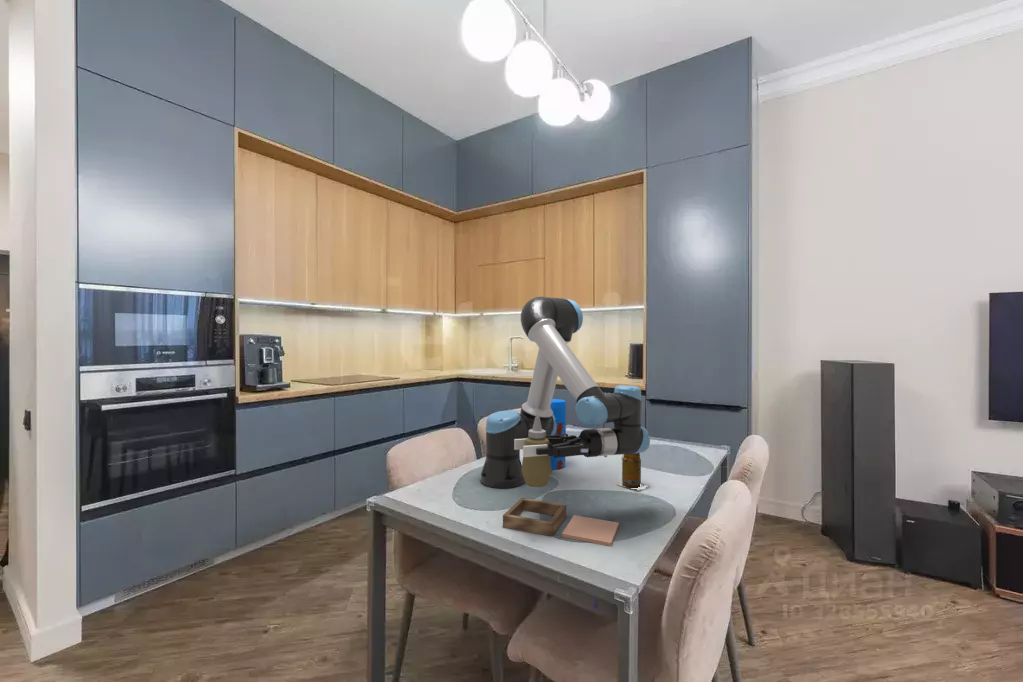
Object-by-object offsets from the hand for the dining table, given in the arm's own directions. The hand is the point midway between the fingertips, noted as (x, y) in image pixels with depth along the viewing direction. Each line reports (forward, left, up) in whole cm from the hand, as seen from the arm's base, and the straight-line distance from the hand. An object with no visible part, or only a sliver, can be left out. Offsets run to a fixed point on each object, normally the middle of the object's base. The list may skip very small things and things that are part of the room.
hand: (519, 447), depth 113 cm
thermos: (-7, +53, -20) cm, 58 cm away
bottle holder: (+4, +3, -20) cm, 21 cm away
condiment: (+25, +42, -20) cm, 53 cm away
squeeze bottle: (+4, +3, -10) cm, 11 cm away
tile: (+19, +3, -20) cm, 28 cm away
